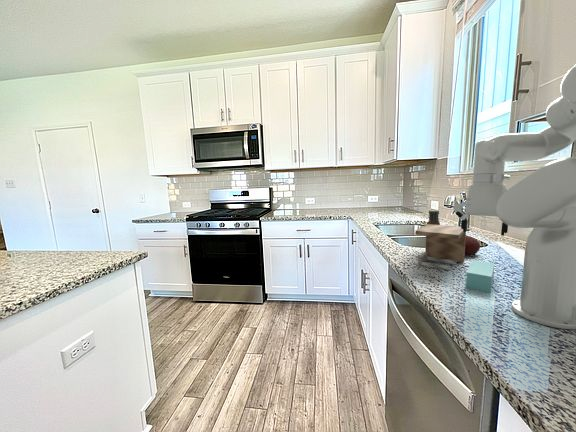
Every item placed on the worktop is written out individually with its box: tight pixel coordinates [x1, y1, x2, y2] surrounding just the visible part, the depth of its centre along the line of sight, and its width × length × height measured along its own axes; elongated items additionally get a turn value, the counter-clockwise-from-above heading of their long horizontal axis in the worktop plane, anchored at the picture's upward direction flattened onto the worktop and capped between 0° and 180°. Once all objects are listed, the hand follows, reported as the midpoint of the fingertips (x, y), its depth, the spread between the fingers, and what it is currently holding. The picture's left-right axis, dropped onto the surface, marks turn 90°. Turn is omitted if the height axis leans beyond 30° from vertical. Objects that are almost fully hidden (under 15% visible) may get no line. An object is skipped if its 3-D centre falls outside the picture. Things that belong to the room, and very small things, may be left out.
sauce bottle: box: [424, 209, 441, 250], centre depth 116 cm, size 6×6×20 cm
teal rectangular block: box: [465, 259, 495, 294], centre depth 83 cm, size 16×6×5 cm, turn 139°
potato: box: [464, 235, 481, 256], centre depth 114 cm, size 12×11×8 cm
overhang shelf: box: [414, 223, 467, 271], centre depth 101 cm, size 14×19×14 cm
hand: (483, 233), depth 81 cm, fingers open, 9 cm apart
